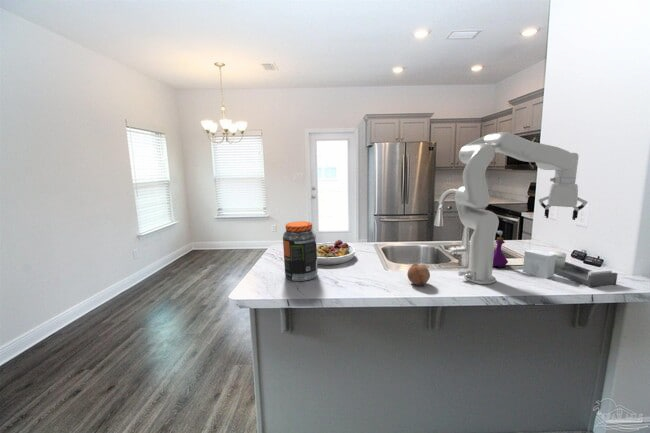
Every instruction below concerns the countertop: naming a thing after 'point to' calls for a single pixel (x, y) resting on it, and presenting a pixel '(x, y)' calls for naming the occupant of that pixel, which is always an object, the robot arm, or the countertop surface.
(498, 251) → the perfume bottle
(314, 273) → the supplement tub
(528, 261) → the skincare box
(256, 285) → the countertop surface
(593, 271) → the pusher
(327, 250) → the bowl
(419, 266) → the onion
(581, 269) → the grey shallow rectangular tray
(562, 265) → the cream jar
